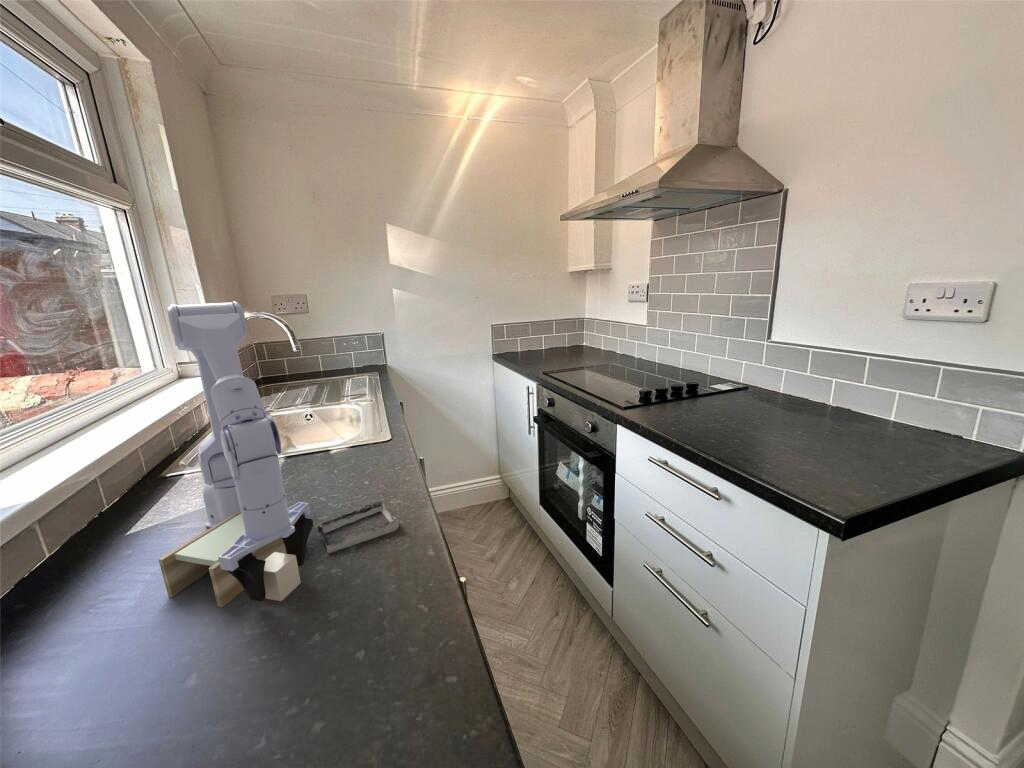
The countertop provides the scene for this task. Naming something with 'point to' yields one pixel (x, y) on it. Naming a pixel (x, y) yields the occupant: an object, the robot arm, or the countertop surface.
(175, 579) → the trapdoor frame
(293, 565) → the beige cube
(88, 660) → the countertop surface
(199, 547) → the trapdoor
